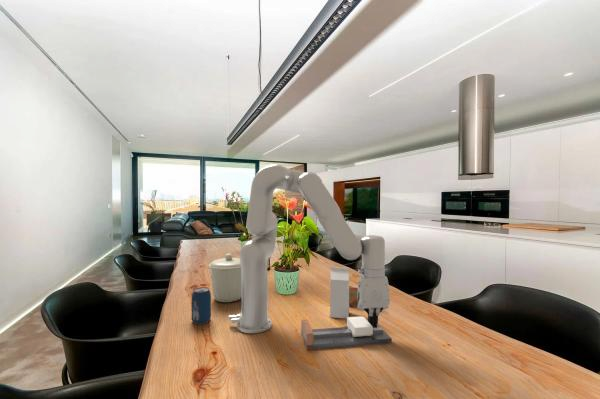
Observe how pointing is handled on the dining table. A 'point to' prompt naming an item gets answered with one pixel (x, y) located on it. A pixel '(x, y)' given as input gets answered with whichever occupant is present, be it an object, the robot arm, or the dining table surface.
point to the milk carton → (339, 292)
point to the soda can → (201, 305)
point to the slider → (359, 326)
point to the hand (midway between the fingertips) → (372, 326)
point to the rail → (340, 337)
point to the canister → (226, 278)
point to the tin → (353, 296)
